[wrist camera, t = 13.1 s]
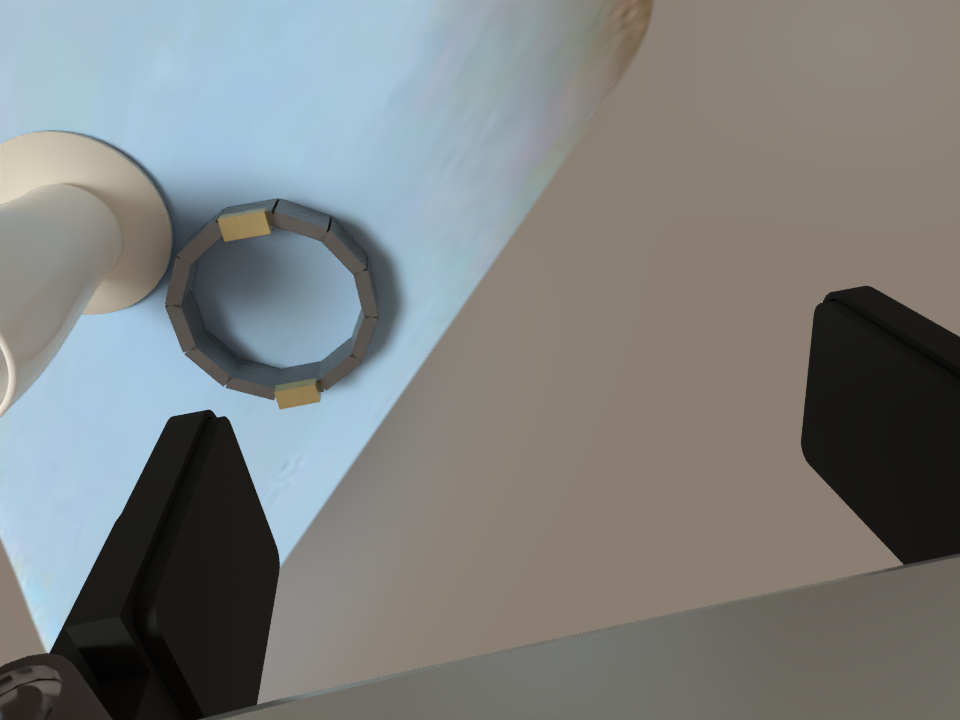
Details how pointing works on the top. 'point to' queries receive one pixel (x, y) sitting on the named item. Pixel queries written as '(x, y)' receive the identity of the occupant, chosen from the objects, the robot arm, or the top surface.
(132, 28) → the top surface
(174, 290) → the collar
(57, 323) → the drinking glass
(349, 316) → the top surface
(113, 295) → the disc
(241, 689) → the robot arm
